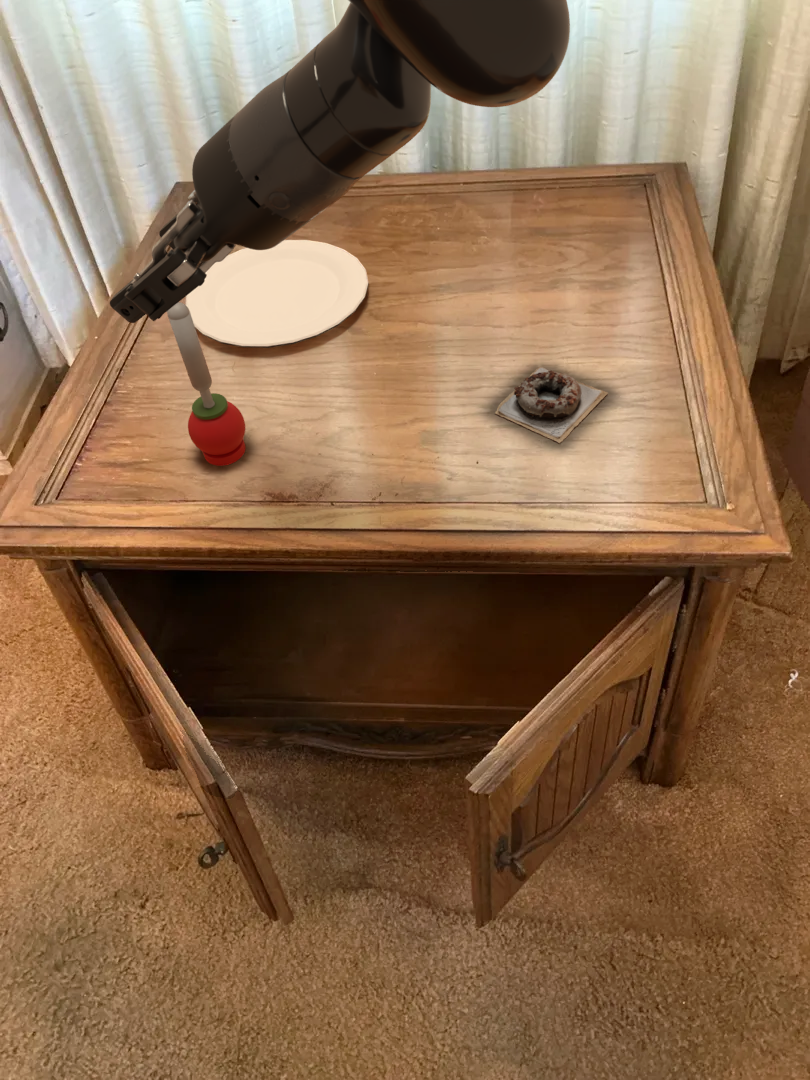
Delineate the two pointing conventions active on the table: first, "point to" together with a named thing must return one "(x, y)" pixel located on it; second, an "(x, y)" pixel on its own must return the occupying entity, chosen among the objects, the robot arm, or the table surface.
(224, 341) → the plate
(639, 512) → the table surface
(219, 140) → the robot arm
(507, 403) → the donut
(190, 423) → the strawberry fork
